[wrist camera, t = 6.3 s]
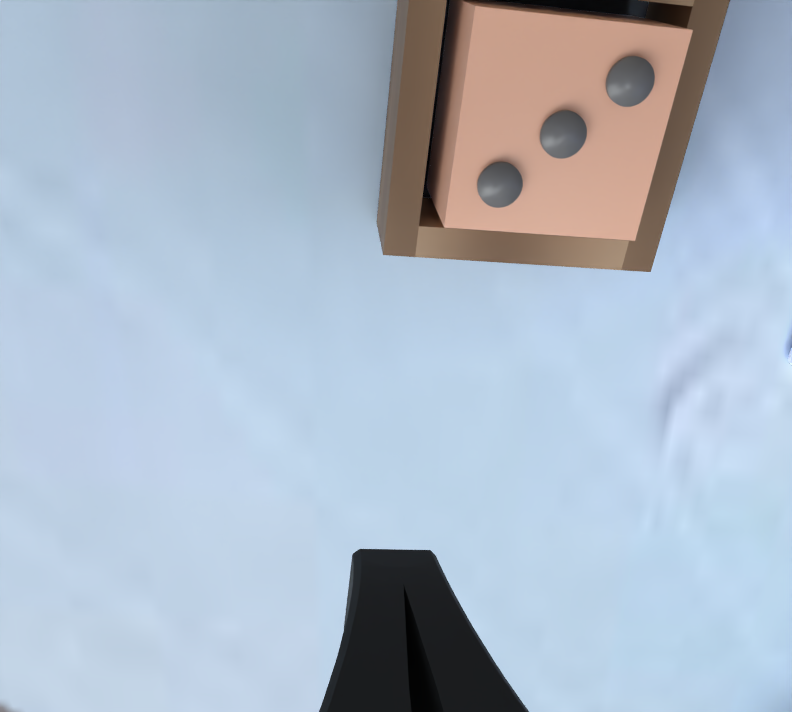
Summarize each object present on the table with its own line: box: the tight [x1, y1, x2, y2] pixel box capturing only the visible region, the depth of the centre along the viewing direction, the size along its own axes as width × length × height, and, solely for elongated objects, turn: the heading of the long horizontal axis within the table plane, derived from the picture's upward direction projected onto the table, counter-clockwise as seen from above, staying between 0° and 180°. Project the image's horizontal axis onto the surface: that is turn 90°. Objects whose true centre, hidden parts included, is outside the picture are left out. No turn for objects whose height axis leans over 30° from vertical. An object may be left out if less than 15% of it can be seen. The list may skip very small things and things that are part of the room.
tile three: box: [426, 0, 693, 241], centre depth 17 cm, size 5×5×3 cm
